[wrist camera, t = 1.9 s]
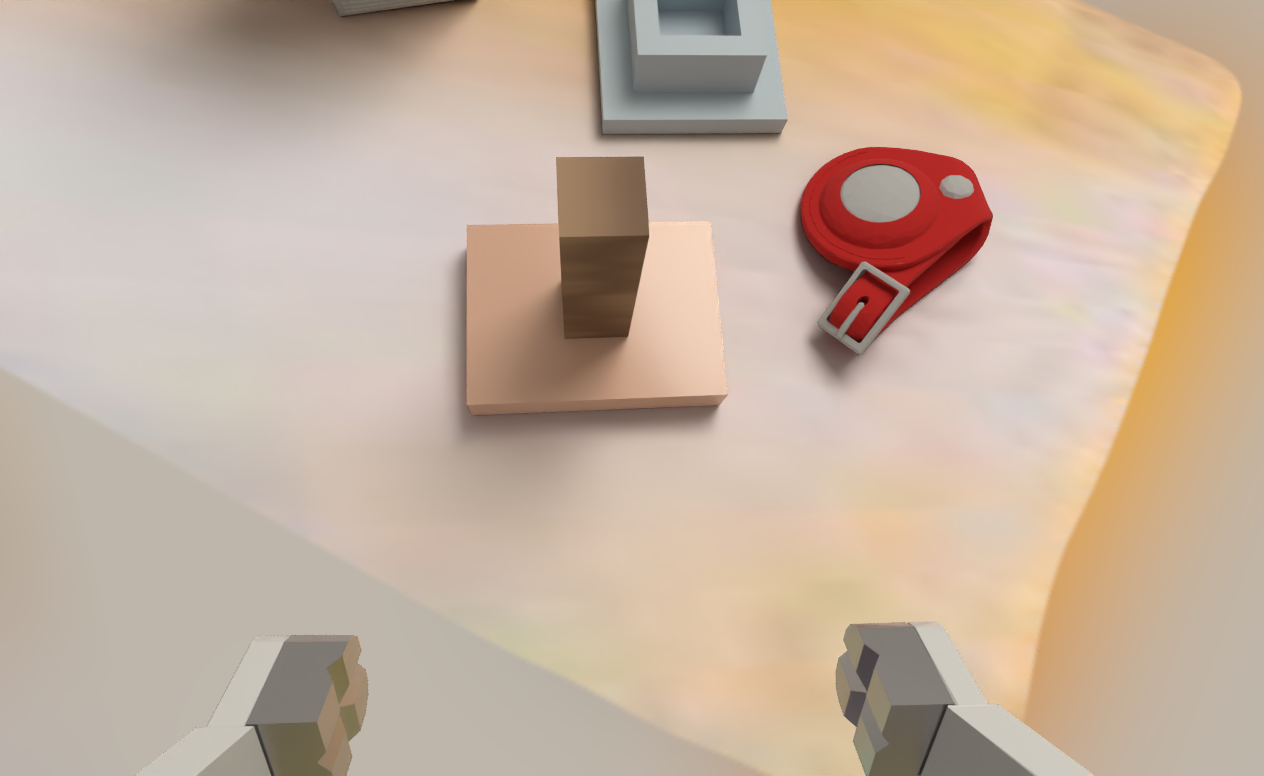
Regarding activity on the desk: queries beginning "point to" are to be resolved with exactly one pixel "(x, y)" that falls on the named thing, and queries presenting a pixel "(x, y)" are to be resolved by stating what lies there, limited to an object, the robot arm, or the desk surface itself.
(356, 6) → the skincare box
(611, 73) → the grey square socket base
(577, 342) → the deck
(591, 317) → the post
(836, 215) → the tracker holder
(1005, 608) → the desk surface
